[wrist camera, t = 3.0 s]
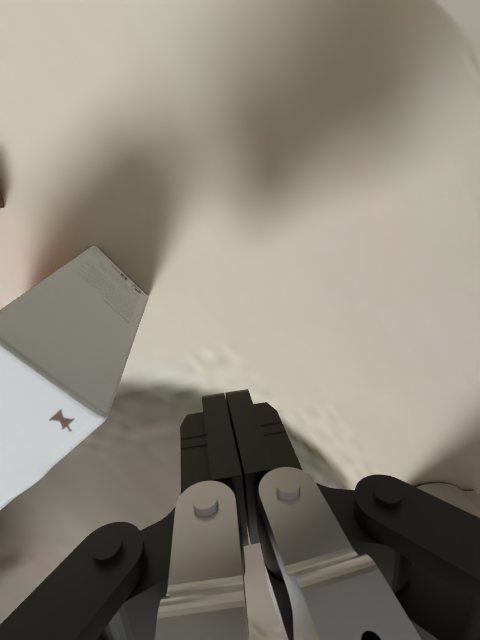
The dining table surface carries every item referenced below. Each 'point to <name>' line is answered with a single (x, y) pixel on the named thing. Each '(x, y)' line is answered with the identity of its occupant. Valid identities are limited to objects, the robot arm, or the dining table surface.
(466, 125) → the dining table surface
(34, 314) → the skincare box
